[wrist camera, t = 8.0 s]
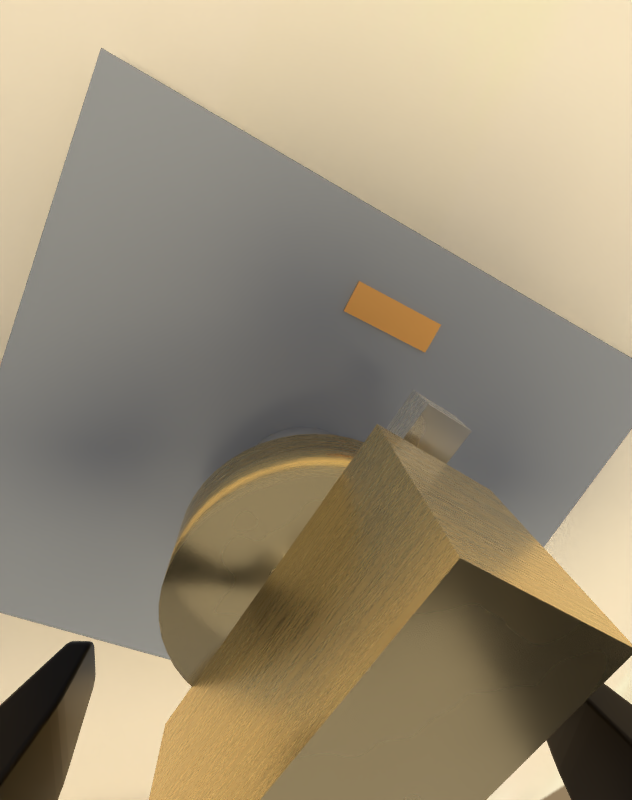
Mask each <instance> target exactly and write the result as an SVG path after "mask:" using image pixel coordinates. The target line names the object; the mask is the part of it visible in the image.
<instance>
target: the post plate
mask: <svg viewBox="0 0 632 800" xmlns="http://www.w3.org/2000/svg"><path fill="white" fill-rule="evenodd" d="M413 390H415V391H416V392H418V393H420V394H421V395H423V396H424V397H426V398H428V399H429V400H431V401H432V402H434V403H436V404H437V405H439V406H440V407H442V408H444V409H445V410H447V411H448V412H450V413H452V414H453V415H454V416H456V417H457V418H458V419H459V420H460V421H461V422H462V423H463V424H464V425H466V426H467V427H468V428H469V429H470V430H471V433H470V434H469V435H468V437H467V438H466V439H465V441H464V442H463V443H462V444H461V446H460V447H459V448H458V450H457V451H456V452H455V454H454V455H453V456H452V457H451V459H450V460H449V461H448V463H447V465H449V466H450V467H452V468H454V469H456V470H457V471H459V472H461V473H462V474H464V475H466V476H468V477H469V478H471V479H473V480H474V481H476V482H478V483H480V484H481V485H483V486H485V487H486V488H488V489H490V490H491V491H492V492H493V493H494V494H495V495H496V496H497V498H498V499H499V500H500V501H501V502H502V503H503V504H504V505H505V506H506V507H507V508H508V510H509V511H510V512H511V513H512V514H513V515H514V516H515V517H516V518H517V519H518V520H519V522H520V523H521V524H522V525H523V526H524V527H525V528H526V529H527V530H528V531H529V532H530V534H531V535H532V536H533V537H534V538H535V539H536V540H537V541H538V542H539V543H540V544H541V546H542V547H544V546H545V545H546V543H547V542H548V541H549V539H550V538H551V537H552V535H553V534H554V533H555V531H556V530H557V528H558V527H559V526H560V524H561V523H562V522H563V520H564V519H565V518H566V516H567V515H568V514H569V512H570V511H571V510H572V508H573V507H574V506H575V504H576V503H577V502H578V500H579V499H580V498H581V496H582V495H583V494H584V492H585V491H586V489H587V488H588V487H589V485H590V484H591V483H592V481H593V480H594V479H595V477H596V476H597V475H598V473H599V472H600V471H601V469H602V468H603V467H604V465H605V464H606V463H607V461H608V460H609V459H610V457H611V456H612V455H613V453H614V452H615V450H616V449H617V448H618V446H619V445H620V444H621V442H622V441H623V440H624V438H625V437H626V436H627V434H628V433H629V432H630V430H631V429H632V358H630V357H629V356H627V355H625V354H624V353H622V352H620V351H619V350H617V349H615V348H613V347H612V346H610V345H608V344H607V343H605V342H603V341H601V340H600V339H598V338H596V337H595V336H593V335H591V334H589V333H588V332H586V331H584V330H583V329H581V328H579V327H578V326H576V325H574V324H572V323H571V322H569V321H567V320H566V319H564V318H562V317H560V316H559V315H557V314H555V313H554V312H552V311H550V310H548V309H547V308H545V307H543V306H542V305H540V304H538V303H536V302H535V301H533V300H531V299H530V298H528V297H526V296H525V295H523V294H521V293H519V292H518V291H516V290H514V289H513V288H511V287H509V286H507V285H506V284H504V283H502V282H501V281H499V280H497V279H495V278H494V277H492V276H490V275H489V274H487V273H485V272H484V271H482V270H480V269H478V268H477V267H475V266H473V265H472V264H470V263H468V262H466V261H465V260H463V259H461V258H460V257H458V256H456V255H454V254H453V253H451V252H449V251H448V250H446V249H444V248H442V247H441V246H439V245H437V244H436V243H434V242H432V241H431V240H429V239H427V238H425V237H424V236H422V235H420V234H419V233H417V232H415V231H413V230H412V229H410V228H408V227H407V226H405V225H403V224H401V223H400V222H398V221H396V220H395V219H393V218H391V217H390V216H388V215H386V214H384V213H383V212H381V211H379V210H378V209H376V208H374V207H372V206H371V205H369V204H367V203H366V202H364V201H362V200H360V199H359V198H357V197H355V196H354V195H352V194H350V193H348V192H347V191H345V190H343V189H342V188H340V187H338V186H337V185H335V184H333V183H331V182H330V181H328V180H326V179H325V178H323V177H321V176H319V175H318V174H316V173H314V172H313V171H311V170H309V169H307V168H306V167H304V166H302V165H301V164H299V163H297V162H296V161H294V160H292V159H290V158H289V157H287V156H285V155H284V154H282V153H280V152H278V151H277V150H275V149H273V148H272V147H270V146H268V145H266V144H265V143H263V142H261V141H260V140H258V139H256V138H254V137H253V136H251V135H249V134H248V133H246V132H244V131H243V130H241V129H239V128H237V127H236V126H234V125H232V124H231V123H229V122H227V121H225V120H224V119H222V118H220V117H219V116H217V115H215V114H213V113H212V112H210V111H208V110H207V109H205V108H203V107H202V106H200V105H198V104H196V103H195V102H193V101H191V100H190V99H188V98H186V97H184V96H183V95H181V94H179V93H178V92H176V91H174V90H172V89H171V88H169V87H167V86H166V85H164V84H162V83H160V82H159V81H157V80H155V79H154V78H152V77H150V76H149V75H147V74H145V73H143V72H142V71H140V70H138V69H137V68H135V67H133V66H131V65H130V64H128V63H126V62H125V61H123V60H121V59H119V58H118V57H116V56H114V55H113V54H111V53H109V52H108V51H106V50H104V49H102V48H101V50H100V53H99V56H98V59H97V62H96V66H95V69H94V72H93V75H92V78H91V81H90V84H89V88H88V91H87V94H86V97H85V100H84V103H83V107H82V110H81V113H80V116H79V119H78V122H77V126H76V129H75V132H74V135H73V138H72V141H71V144H70V148H69V151H68V154H67V157H66V160H65V163H64V167H63V170H62V173H61V176H60V179H59V182H58V186H57V189H56V192H55V195H54V198H53V201H52V205H51V208H50V211H49V214H48V217H47V220H46V223H45V227H44V230H43V233H42V236H41V239H40V242H39V246H38V249H37V252H36V255H35V258H34V261H33V265H32V268H31V271H30V274H29V277H28V280H27V283H26V287H25V290H24V293H23V296H22V299H21V302H20V306H19V309H18V312H17V315H16V318H15V321H14V325H13V328H12V331H11V334H10V337H9V340H8V343H7V347H6V350H5V353H4V356H3V359H2V362H1V366H0V613H3V614H7V615H11V616H14V617H18V618H21V619H25V620H29V621H32V622H36V623H39V624H43V625H47V626H50V627H54V628H58V629H61V630H65V631H68V632H72V633H76V634H79V635H83V636H86V637H90V638H94V639H97V640H101V641H105V642H108V643H112V644H115V645H119V646H123V647H126V648H130V649H133V650H137V651H141V652H144V653H148V654H152V655H155V656H159V657H162V658H166V659H170V657H169V655H168V654H167V651H166V649H165V646H164V643H163V640H162V637H161V632H160V626H159V599H160V593H161V587H162V584H163V581H164V578H165V574H166V571H167V568H168V565H169V562H170V559H171V556H172V552H173V549H174V546H175V543H176V540H177V537H178V534H179V530H180V527H181V524H182V521H183V518H184V515H185V513H186V510H187V508H188V506H189V504H190V503H191V501H192V499H193V497H194V495H195V494H196V493H197V491H198V490H199V489H200V487H201V486H202V484H203V483H204V482H205V481H206V480H207V479H208V478H209V477H210V476H211V475H212V474H213V473H214V472H215V471H216V470H217V469H218V468H220V467H221V466H222V465H223V464H225V463H226V462H227V461H228V460H230V459H232V458H233V457H235V456H237V455H238V454H240V453H242V452H243V451H245V450H247V449H250V448H252V447H254V446H256V445H259V444H261V443H264V442H267V441H270V440H274V439H277V438H281V437H287V436H292V435H300V434H329V435H337V436H343V437H348V438H352V439H355V440H358V441H361V442H365V440H366V439H367V438H368V436H369V435H370V433H371V432H372V431H373V429H374V428H375V426H376V425H377V424H378V425H380V426H382V427H384V428H385V429H386V428H387V426H388V425H389V424H390V422H391V421H392V419H393V418H394V417H395V415H396V414H397V412H398V411H399V410H400V408H401V407H402V405H403V404H404V403H405V401H406V400H407V398H408V397H409V396H410V394H411V393H412V391H413ZM170 660H171V659H170Z"/></svg>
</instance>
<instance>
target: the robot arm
mask: <svg viewBox="0 0 632 800" xmlns="http://www.w3.org/2000/svg"><path fill="white" fill-rule="evenodd" d="M94 681H95V653H94V645H93V643H92V642H90V641H72V642H69V643H68V644H66V645H65V646H64V647H63V648H62V649H61V650H60V651H59V652H57V653H56V654H55V655H54V656H53V657H52V658H51V659H50V660H49V661H48V662H47V663H46V664H44V665H43V666H42V667H41V668H40V669H39V670H38V671H37V672H36V673H35V674H34V675H32V676H31V677H30V678H29V679H28V680H27V681H26V682H25V683H24V684H23V685H22V686H21V687H19V688H18V689H17V690H16V691H15V692H14V693H13V694H12V695H11V696H10V697H9V698H7V699H6V700H5V701H4V702H3V703H2V704H1V705H0V800H58V798H59V795H60V792H61V790H62V787H63V784H64V781H65V778H66V775H67V772H68V769H69V766H70V762H71V759H72V756H73V752H74V749H75V746H76V743H77V739H78V736H79V733H80V729H81V726H82V723H83V719H84V716H85V713H86V710H87V706H88V703H89V700H90V696H91V693H92V690H93V686H94ZM547 743H548V746H549V748H550V751H551V754H552V756H553V759H554V761H555V764H556V766H557V769H558V771H559V774H560V776H561V778H562V780H563V783H564V785H565V787H566V789H567V791H568V793H569V796H570V798H571V800H632V704H630V703H629V702H628V701H626V700H625V699H624V698H622V697H621V696H620V695H618V694H617V693H616V692H615V691H613V690H612V689H611V688H609V687H608V686H607V685H605V684H604V683H603V684H602V685H601V686H600V687H599V688H598V689H597V690H596V691H595V692H594V693H593V694H592V695H591V696H590V697H589V698H588V699H587V700H586V701H585V702H584V703H583V704H582V705H581V706H580V707H579V708H578V709H577V710H576V711H575V712H574V713H573V714H572V715H571V716H570V717H569V718H568V719H567V720H566V721H565V722H564V723H563V724H562V725H561V726H560V727H559V728H558V729H557V730H556V731H555V732H554V733H553V734H552V735H551V736H550V737H549V738H548V739H547Z"/></svg>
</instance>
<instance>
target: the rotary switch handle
mask: <svg viewBox="0 0 632 800" xmlns="http://www.w3.org/2000/svg"><path fill="white" fill-rule="evenodd" d="M470 433H471V430H470V429H469V428H468V427H467V426H466V425H464V424H463V423H462V422H461V421H460V420H459V419H458V418H457V417H456V416H454V415H453V414H452V413H450V412H448V411H447V410H445V409H444V408H442V407H440V406H439V405H437V404H436V403H434V402H432V401H431V400H429V399H428V398H426V397H424V396H423V395H421V394H420V393H418V392H416V391H415V390H413V391H412V393H411V394H410V396H409V397H408V398H407V400H406V401H405V403H404V404H403V405H402V407H401V408H400V410H399V411H398V412H397V414H396V415H395V417H394V418H393V419H392V421H391V422H390V424H389V425H388V426H387V428H386V429H385V428H384V427H382V426H380V425H378V424H377V425H376V426H375V428H374V429H373V431H372V432H371V433H370V435H369V436H368V438H367V439H366V440H365V442H361V441H358V440H355V439H352V438H348V437H343V436H337V435H329V434H300V435H292V436H287V437H281V438H277V439H274V440H270V441H267V442H264V443H261V444H259V445H256V446H254V447H252V448H250V449H247V450H245V451H243V452H242V453H240V454H238V455H237V456H235V457H233V458H232V459H230V460H228V461H227V462H226V463H225V464H223V465H222V466H221V467H220V468H218V469H217V470H216V471H215V472H214V473H213V474H212V475H211V476H210V477H209V478H208V479H207V480H206V481H205V482H204V483H203V484H202V486H201V487H200V489H199V490H198V491H197V493H196V494H195V495H194V497H193V499H192V501H191V503H190V504H189V506H188V508H187V510H186V513H185V515H184V518H183V521H182V524H181V527H180V530H179V534H178V537H177V540H176V543H175V546H174V549H173V552H172V556H171V559H170V562H169V565H168V568H167V571H166V574H165V578H164V581H163V584H162V587H161V593H160V599H159V626H160V632H161V637H162V640H163V643H164V646H165V649H166V651H167V654H168V655H169V657H170V659H171V661H172V663H173V664H174V666H175V668H176V669H177V670H178V672H179V673H180V674H181V675H182V677H183V678H184V679H185V680H186V681H187V682H188V683H189V684H190V685H191V686H192V687H191V689H190V690H189V691H188V693H187V694H186V696H185V697H184V698H183V700H182V701H181V703H180V704H179V706H178V707H177V708H176V710H175V711H174V713H173V714H172V715H171V717H170V718H169V720H168V721H167V723H166V724H165V728H164V733H163V738H162V742H161V747H160V751H159V756H158V761H157V765H156V770H155V774H154V779H153V784H152V788H151V793H150V797H149V800H486V799H487V798H488V797H489V796H490V795H491V794H492V793H493V792H494V791H495V790H496V789H497V788H498V787H499V786H500V785H501V784H502V783H503V782H504V781H505V780H506V779H508V778H509V777H510V776H511V775H512V774H513V773H514V772H515V771H516V770H517V769H518V768H519V767H520V766H521V765H522V764H523V763H524V762H525V761H526V760H527V759H528V758H529V757H530V756H531V755H532V754H533V753H534V752H535V751H536V750H537V749H538V748H539V747H540V746H541V745H542V744H543V743H544V742H545V741H546V740H547V739H548V738H549V737H550V736H551V735H552V734H553V733H554V732H555V731H556V730H557V729H558V728H559V727H560V726H561V725H562V724H563V723H564V722H565V721H566V720H567V719H568V718H569V717H570V716H571V715H572V714H573V713H574V712H575V711H576V710H577V709H578V708H579V707H580V706H581V705H582V704H583V703H584V702H585V701H586V700H587V699H588V698H589V697H590V696H591V695H592V694H593V693H594V692H595V691H596V690H597V689H598V688H599V687H600V686H601V685H602V684H603V683H604V682H605V681H606V680H607V679H608V678H609V677H610V676H611V675H612V674H613V673H614V672H615V671H616V670H617V669H618V668H619V667H620V666H621V665H623V664H624V663H625V662H626V661H627V660H628V659H629V658H630V657H631V656H632V644H631V643H630V641H629V640H628V639H627V638H626V637H625V636H624V635H623V634H622V633H621V632H620V631H619V629H618V628H617V627H616V626H615V625H614V624H613V623H612V622H611V621H610V620H609V619H608V617H607V616H606V615H605V614H604V613H603V612H602V611H601V610H600V609H599V608H598V607H597V606H596V604H595V603H594V602H593V601H592V600H591V599H590V598H589V597H588V596H587V595H586V594H585V592H584V591H583V590H582V589H581V588H580V587H579V586H578V585H577V584H576V583H575V582H574V580H573V579H572V578H571V577H570V576H569V575H568V574H567V573H566V572H565V571H564V570H563V568H562V567H561V566H560V565H559V564H558V563H557V562H556V561H555V560H554V559H553V558H552V556H551V555H550V554H549V553H548V552H547V551H546V550H545V549H544V548H543V547H542V546H541V544H540V543H539V542H538V541H537V540H536V539H535V538H534V537H533V536H532V535H531V534H530V532H529V531H528V530H527V529H526V528H525V527H524V526H523V525H522V524H521V523H520V522H519V520H518V519H517V518H516V517H515V516H514V515H513V514H512V513H511V512H510V511H509V510H508V508H507V507H506V506H505V505H504V504H503V503H502V502H501V501H500V500H499V499H498V498H497V496H496V495H495V494H494V493H493V492H492V491H491V490H490V489H488V488H486V487H485V486H483V485H481V484H480V483H478V482H476V481H474V480H473V479H471V478H469V477H468V476H466V475H464V474H462V473H461V472H459V471H457V470H456V469H454V468H452V467H450V466H449V465H447V463H448V461H449V460H450V459H451V457H452V456H453V455H454V454H455V452H456V451H457V450H458V448H459V447H460V446H461V444H462V443H463V442H464V441H465V439H466V438H467V437H468V435H469V434H470Z"/></svg>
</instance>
